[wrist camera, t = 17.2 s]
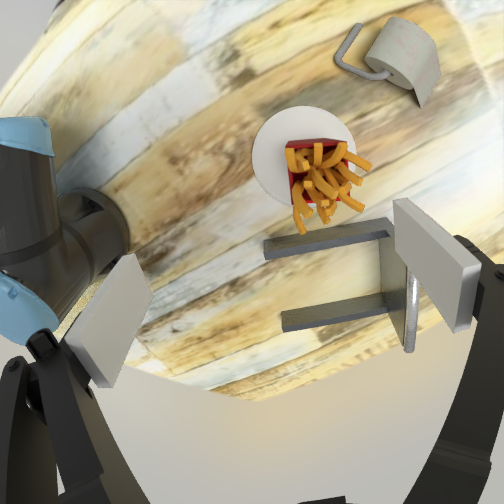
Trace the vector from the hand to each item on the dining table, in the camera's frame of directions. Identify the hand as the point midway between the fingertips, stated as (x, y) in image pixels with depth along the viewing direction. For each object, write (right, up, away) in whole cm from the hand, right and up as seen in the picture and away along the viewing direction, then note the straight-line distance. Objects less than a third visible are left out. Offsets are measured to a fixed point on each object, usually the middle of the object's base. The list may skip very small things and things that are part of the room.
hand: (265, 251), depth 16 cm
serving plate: (+6, +13, +26) cm, 30 cm away
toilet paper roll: (+21, +25, +23) cm, 40 cm away
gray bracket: (+12, -3, +34) cm, 36 cm away
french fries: (+8, +12, +26) cm, 29 cm away
